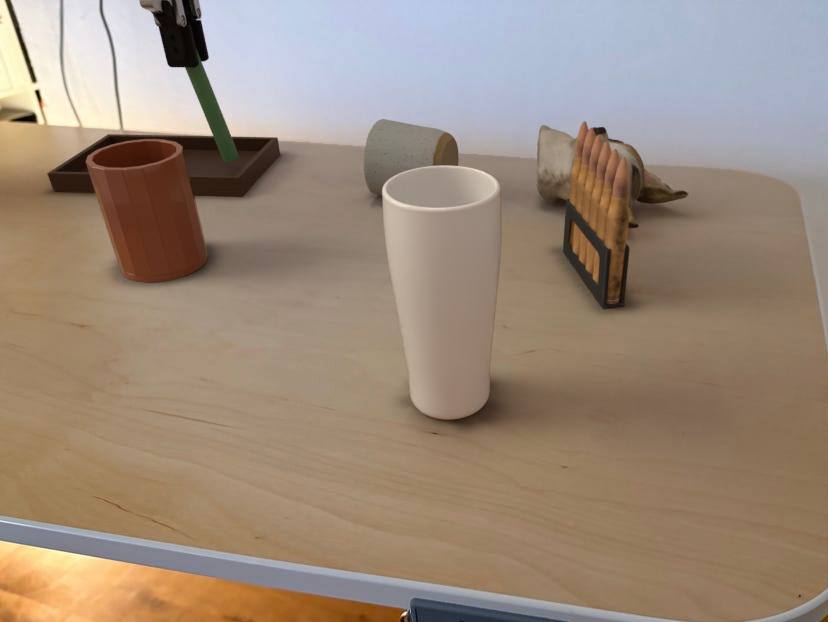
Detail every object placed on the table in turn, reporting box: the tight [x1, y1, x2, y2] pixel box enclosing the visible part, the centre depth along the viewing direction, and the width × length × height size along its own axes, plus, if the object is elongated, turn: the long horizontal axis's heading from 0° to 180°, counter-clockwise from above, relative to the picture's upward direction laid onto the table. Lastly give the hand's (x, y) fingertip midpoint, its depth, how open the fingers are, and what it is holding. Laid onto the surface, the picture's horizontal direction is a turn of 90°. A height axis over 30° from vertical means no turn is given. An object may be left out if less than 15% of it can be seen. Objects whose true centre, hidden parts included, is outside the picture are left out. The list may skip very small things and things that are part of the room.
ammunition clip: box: [562, 120, 631, 309], centre depth 61 cm, size 11×2×12 cm, turn 12°
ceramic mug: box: [363, 118, 460, 196], centre depth 78 cm, size 11×8×8 cm
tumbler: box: [86, 139, 209, 283], centre depth 64 cm, size 7×7×10 cm
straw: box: [184, 24, 239, 162], centre depth 80 cm, size 4×2×16 cm, turn 85°
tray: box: [47, 133, 281, 197], centre depth 85 cm, size 13×21×2 cm, turn 85°
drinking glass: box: [381, 165, 503, 421], centre depth 46 cm, size 7×7×15 cm
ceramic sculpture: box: [536, 124, 689, 229], centre depth 73 cm, size 11×9×15 cm
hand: (188, 62), depth 79 cm, fingers closed on straw, 1 cm apart
